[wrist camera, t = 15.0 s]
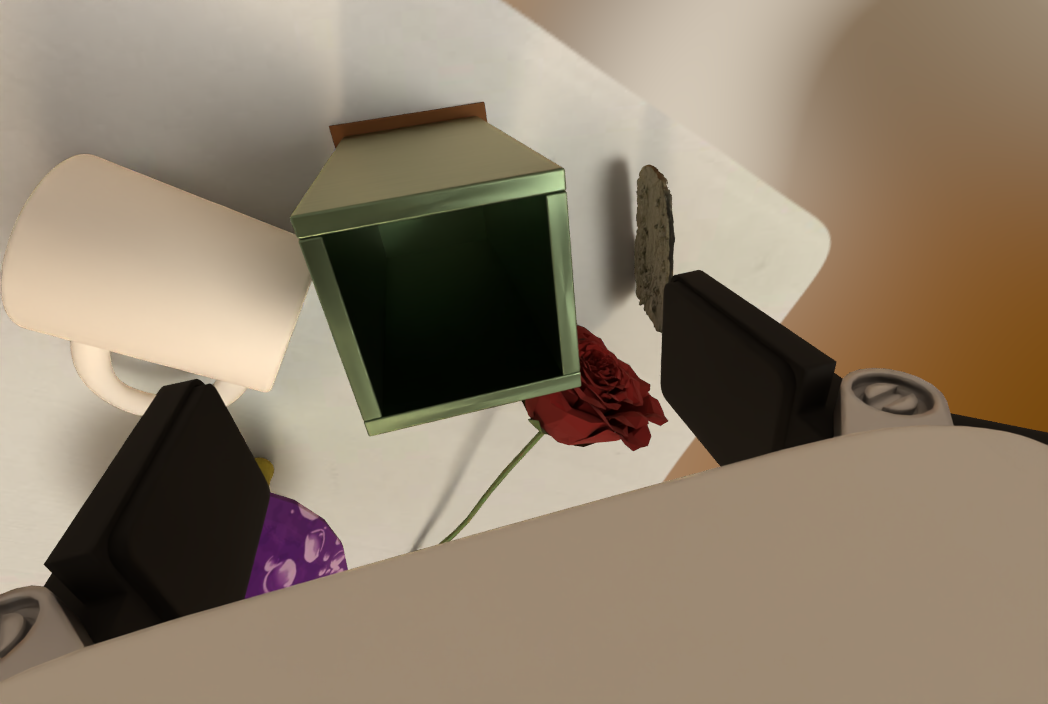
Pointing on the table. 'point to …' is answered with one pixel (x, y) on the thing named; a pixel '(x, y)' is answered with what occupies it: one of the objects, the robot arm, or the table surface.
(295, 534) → the decorative mushroom
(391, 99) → the table surface
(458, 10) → the table surface
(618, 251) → the table surface
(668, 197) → the stone fragment
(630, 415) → the flower
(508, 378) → the box
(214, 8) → the table surface
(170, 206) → the mug
